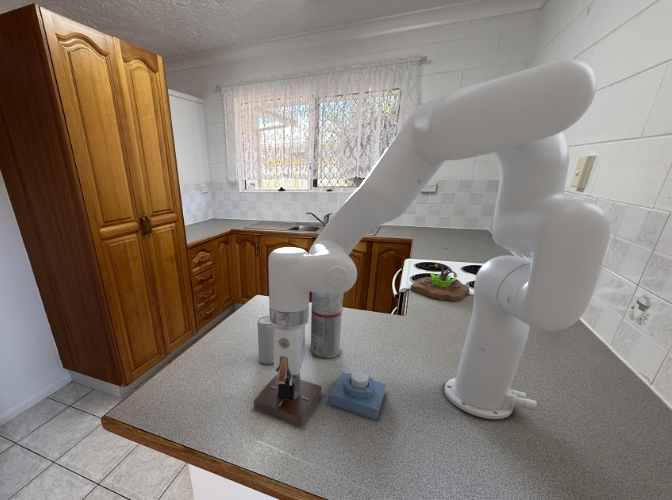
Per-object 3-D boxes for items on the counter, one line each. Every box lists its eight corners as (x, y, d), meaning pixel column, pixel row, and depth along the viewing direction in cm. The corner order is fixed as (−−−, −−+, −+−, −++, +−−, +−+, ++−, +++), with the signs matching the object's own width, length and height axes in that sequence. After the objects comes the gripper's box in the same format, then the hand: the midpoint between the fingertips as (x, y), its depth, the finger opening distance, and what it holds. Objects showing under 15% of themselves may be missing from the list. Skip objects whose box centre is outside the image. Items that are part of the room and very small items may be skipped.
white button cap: (369, 381, 68) (370, 374, 67) (365, 391, 65) (366, 383, 64) (353, 376, 69) (353, 369, 69) (348, 386, 67) (349, 378, 66)
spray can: (339, 361, 82) (345, 291, 74) (308, 358, 84) (310, 289, 76) (339, 344, 90) (345, 279, 82) (311, 342, 91) (313, 277, 83)
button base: (384, 393, 70) (387, 377, 68) (376, 420, 63) (378, 402, 61) (341, 380, 75) (342, 365, 73) (328, 404, 67) (330, 387, 66)
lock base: (321, 395, 70) (321, 385, 69) (301, 428, 61) (301, 417, 60) (278, 380, 75) (278, 371, 74) (254, 409, 66) (253, 399, 65)
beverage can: (265, 353, 86) (263, 314, 82) (280, 358, 84) (279, 318, 79) (255, 362, 82) (253, 321, 78) (271, 367, 80) (270, 326, 75)
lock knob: (285, 383, 70) (285, 363, 68) (303, 390, 68) (304, 370, 66) (273, 394, 67) (272, 374, 65) (292, 403, 64) (292, 382, 62)
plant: (426, 279, 139) (431, 255, 135) (474, 291, 125) (481, 264, 121) (403, 290, 128) (407, 264, 123) (453, 304, 114) (459, 275, 109)
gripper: (301, 337, 51) (299, 421, 58) (313, 298, 66) (311, 368, 74) (257, 332, 53) (261, 415, 60) (279, 295, 68) (280, 364, 75)
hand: (288, 388), depth 67 cm, fingers closed on lock knob, 4 cm apart
